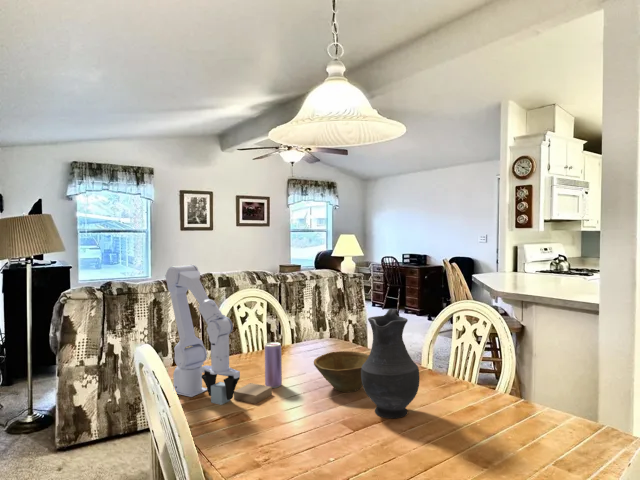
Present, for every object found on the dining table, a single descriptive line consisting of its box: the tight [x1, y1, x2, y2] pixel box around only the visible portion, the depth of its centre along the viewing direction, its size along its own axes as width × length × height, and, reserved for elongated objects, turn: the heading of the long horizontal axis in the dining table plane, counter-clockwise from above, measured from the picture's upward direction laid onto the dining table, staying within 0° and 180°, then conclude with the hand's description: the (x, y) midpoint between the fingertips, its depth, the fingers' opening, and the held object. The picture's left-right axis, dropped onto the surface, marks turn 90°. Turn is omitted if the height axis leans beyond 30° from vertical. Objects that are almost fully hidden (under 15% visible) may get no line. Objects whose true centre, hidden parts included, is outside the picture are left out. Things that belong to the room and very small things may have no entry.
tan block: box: [233, 382, 273, 404], centre depth 146 cm, size 9×9×3 cm
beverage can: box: [264, 341, 283, 389], centre depth 157 cm, size 6×6×15 cm
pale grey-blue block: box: [210, 381, 232, 406], centre depth 142 cm, size 4×4×6 cm
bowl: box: [313, 350, 370, 393], centre depth 154 cm, size 22×23×10 cm
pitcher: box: [361, 308, 420, 419], centre depth 133 cm, size 17×21×30 cm
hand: (220, 396), depth 142 cm, fingers open, 7 cm apart
